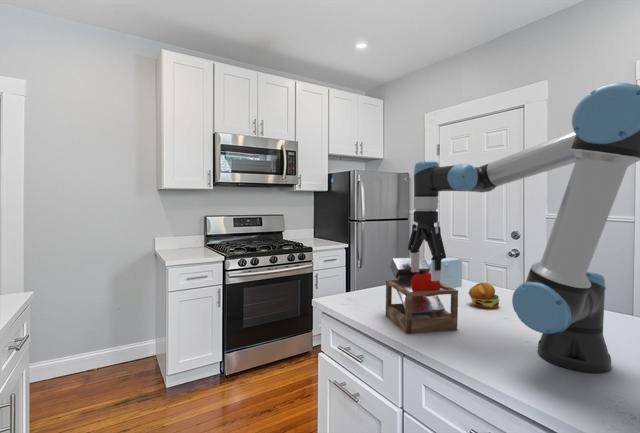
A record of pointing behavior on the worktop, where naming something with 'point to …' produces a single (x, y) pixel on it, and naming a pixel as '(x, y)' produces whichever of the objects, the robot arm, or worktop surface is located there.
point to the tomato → (424, 283)
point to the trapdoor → (404, 274)
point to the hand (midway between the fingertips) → (424, 276)
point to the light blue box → (450, 272)
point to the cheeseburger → (484, 296)
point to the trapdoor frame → (420, 325)
